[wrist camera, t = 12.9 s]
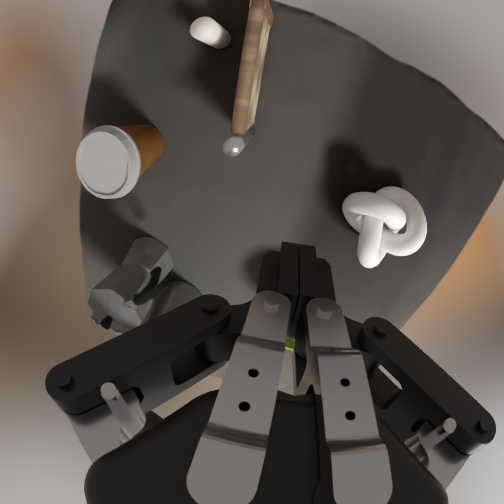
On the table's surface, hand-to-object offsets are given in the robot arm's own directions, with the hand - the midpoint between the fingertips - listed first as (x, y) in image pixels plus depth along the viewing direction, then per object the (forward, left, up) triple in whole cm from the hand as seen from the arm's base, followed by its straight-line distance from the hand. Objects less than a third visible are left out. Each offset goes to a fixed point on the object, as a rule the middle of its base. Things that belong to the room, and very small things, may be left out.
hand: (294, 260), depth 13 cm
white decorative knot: (-10, -13, -29) cm, 34 cm away
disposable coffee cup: (+2, +22, -29) cm, 37 cm away
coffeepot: (-18, +25, -29) cm, 42 cm away
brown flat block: (+11, +4, -28) cm, 30 cm away
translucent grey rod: (+2, +6, -29) cm, 30 cm away
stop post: (+16, +9, -29) cm, 34 cm away
